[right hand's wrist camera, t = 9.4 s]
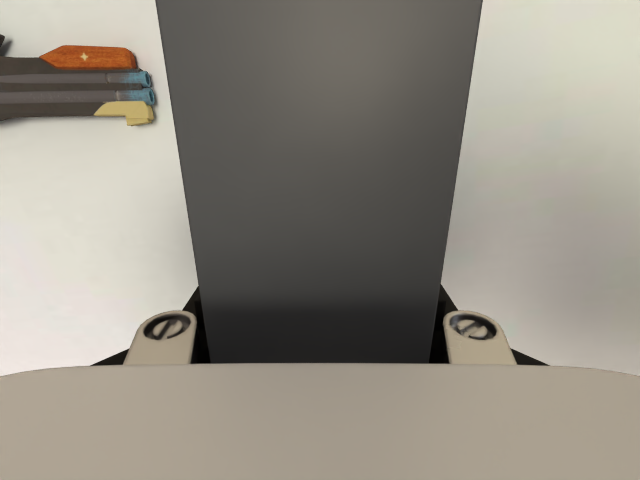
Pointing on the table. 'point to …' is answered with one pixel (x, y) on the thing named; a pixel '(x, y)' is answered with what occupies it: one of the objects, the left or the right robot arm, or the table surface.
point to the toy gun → (76, 85)
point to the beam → (319, 169)
